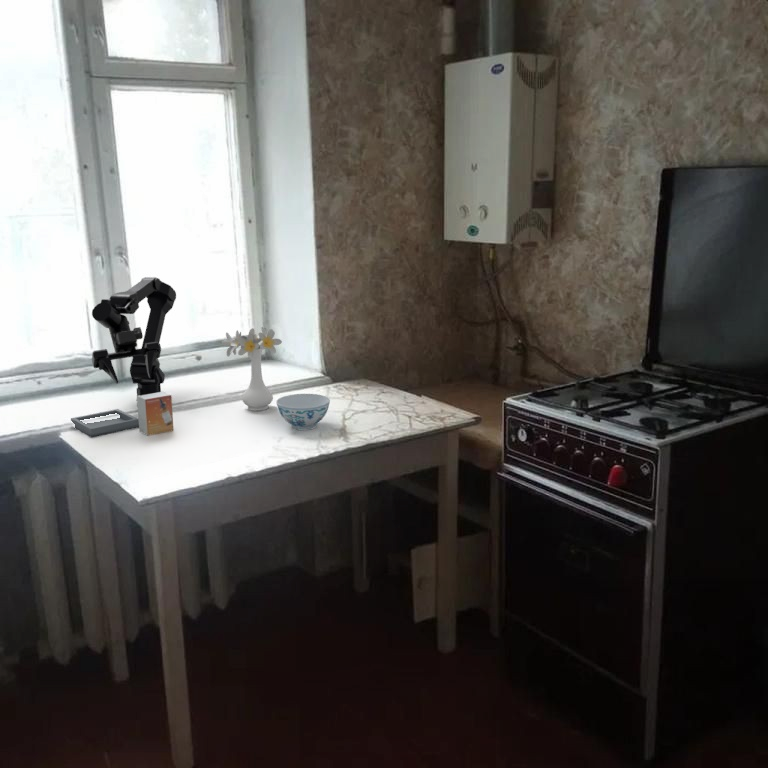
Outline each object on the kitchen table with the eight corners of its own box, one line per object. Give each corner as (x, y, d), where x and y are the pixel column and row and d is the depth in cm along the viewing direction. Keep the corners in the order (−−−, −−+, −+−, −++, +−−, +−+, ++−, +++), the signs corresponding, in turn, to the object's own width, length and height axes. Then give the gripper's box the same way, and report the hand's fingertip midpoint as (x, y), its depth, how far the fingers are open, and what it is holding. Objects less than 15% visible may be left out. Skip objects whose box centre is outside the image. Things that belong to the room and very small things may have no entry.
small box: (147, 436, 221) (144, 399, 219) (138, 431, 225) (135, 395, 223) (174, 430, 226) (171, 394, 224) (165, 426, 230) (163, 390, 228)
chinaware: (303, 416, 240) (303, 390, 238) (341, 425, 230) (340, 399, 228) (266, 427, 228) (265, 401, 226) (304, 438, 219) (303, 410, 217)
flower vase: (234, 401, 255) (230, 323, 249) (290, 404, 252) (287, 325, 246) (219, 413, 243) (214, 331, 237) (277, 416, 240) (274, 333, 233)
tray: (118, 417, 239) (117, 409, 239) (139, 427, 229) (138, 419, 229) (71, 426, 230) (70, 418, 230) (91, 437, 220) (90, 429, 220)
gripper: (88, 323, 223) (101, 372, 217) (155, 314, 231) (170, 361, 226) (87, 343, 232) (99, 391, 227) (152, 334, 241) (165, 379, 235)
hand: (134, 380), depth 228 cm, fingers open, 9 cm apart
